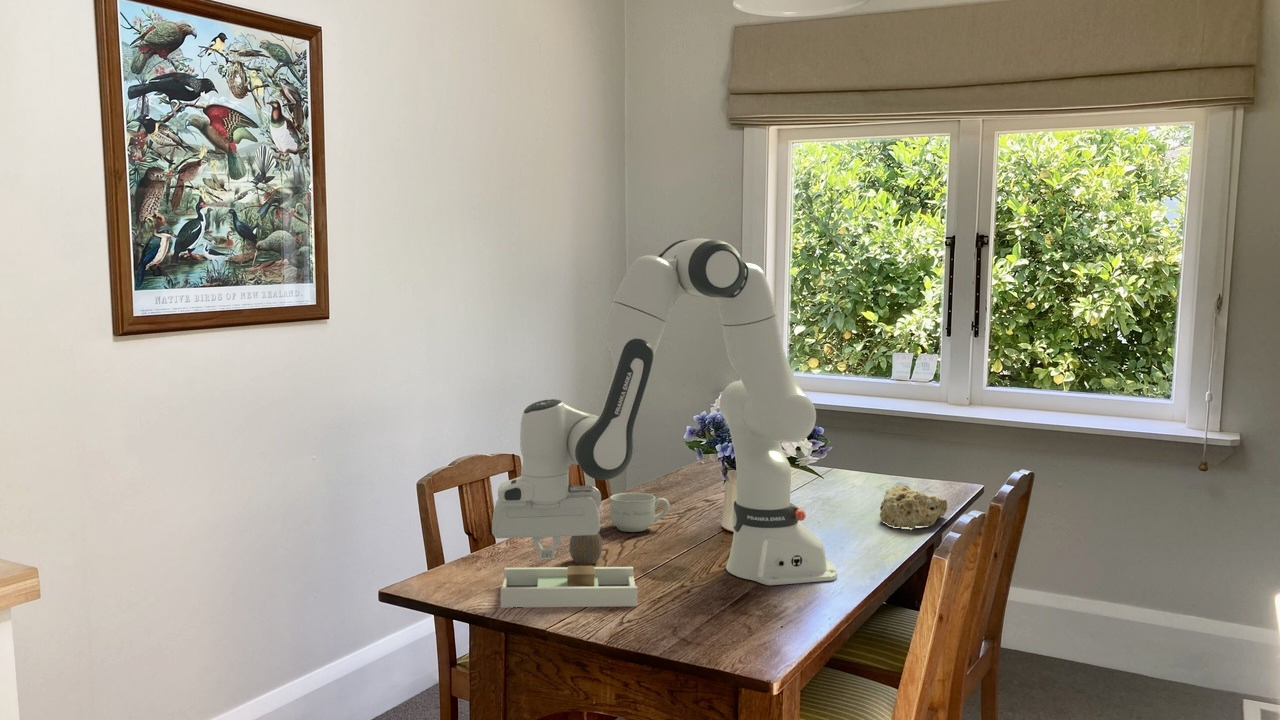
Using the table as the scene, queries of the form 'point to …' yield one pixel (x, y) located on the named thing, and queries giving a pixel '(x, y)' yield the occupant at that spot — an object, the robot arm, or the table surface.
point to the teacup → (635, 511)
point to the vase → (585, 549)
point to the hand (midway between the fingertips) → (547, 558)
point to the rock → (910, 508)
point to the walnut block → (580, 576)
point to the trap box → (567, 588)
